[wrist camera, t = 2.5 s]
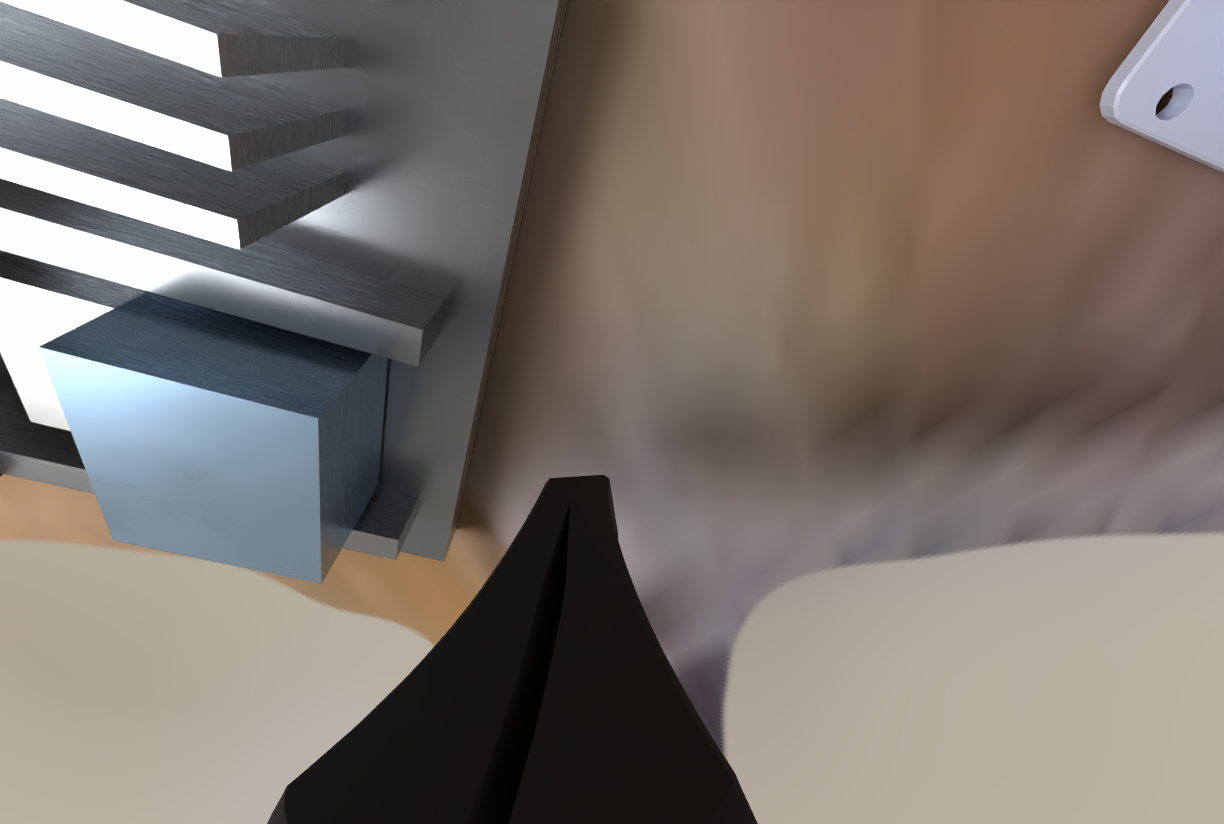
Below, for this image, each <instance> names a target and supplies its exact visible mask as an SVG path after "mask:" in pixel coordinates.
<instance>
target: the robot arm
mask: <svg viewBox="0 0 1224 824" xmlns="http://www.w3.org/2000/svg"><path fill="white" fill-rule="evenodd" d="M1172 87H1173V95H1172V98H1171V100H1170V101H1169V103H1168V105H1167V106H1166V107H1165V108H1164V109H1163V110H1162V111H1160V112H1159V113H1158V114H1156V106H1157V104H1158V102H1159V100H1160V99H1161V97H1162V96H1163V95H1164V94H1165V93H1166V92H1167V91H1168V90H1169V89H1171V88H1172ZM1100 110H1101V114H1102V116H1103V117H1104V118H1105V119H1106V120H1107V121H1108V122H1110V123H1113V124H1115V125H1117V126H1119V127H1122V128H1124V129H1126V130H1128V131H1131V132H1133V133H1135V134H1137V135H1140V136H1142V137H1144V138H1146V139H1149V140H1151V141H1153V142H1155V143H1158V144H1160V145H1162V146H1164V147H1167V148H1169V149H1171V150H1173V151H1176V152H1178V153H1180V154H1182V155H1185V156H1187V157H1189V158H1191V159H1194V160H1196V161H1198V162H1200V163H1203V164H1205V165H1207V166H1209V167H1211V168H1214V169H1216V170H1218V171H1220V172H1223V173H1224V0H1170V1H1169V2H1168V3H1167V5H1166V6H1165V7H1164V8H1163V10H1162V11H1161V12H1160V14H1159V15H1158V16H1157V18H1156V19H1155V20H1154V22H1153V23H1152V24H1151V26H1150V27H1149V28H1148V30H1147V31H1146V32H1145V34H1144V35H1143V36H1142V38H1141V39H1140V40H1139V42H1138V43H1137V44H1136V46H1135V47H1134V48H1133V50H1132V51H1131V52H1130V53H1129V55H1128V56H1127V57H1126V59H1125V60H1124V61H1123V63H1122V64H1121V65H1120V67H1119V68H1118V69H1117V71H1116V72H1115V73H1114V75H1113V76H1112V77H1111V79H1110V80H1109V82H1108V84H1107V85H1106V87H1105V89H1104V91H1103V92H1102V97H1101V101H1100ZM1155 114H1156V115H1155ZM267 824H758V823H757V821H756V819H755V817H754V815H753V812H752V810H751V808H750V806H749V804H748V802H747V799H746V797H745V795H744V793H743V791H742V789H741V786H740V784H739V782H738V779H737V777H736V775H735V773H734V771H733V770H732V768H731V766H730V765H729V763H728V762H727V760H726V759H725V757H724V756H723V754H722V752H721V751H720V749H719V748H718V746H717V745H716V743H715V741H714V740H713V738H712V736H711V735H710V733H709V732H708V730H707V728H706V727H705V725H704V724H703V722H702V720H701V718H700V717H699V715H698V713H697V712H696V710H695V708H694V706H693V705H692V703H691V701H690V700H689V698H688V696H687V695H686V693H685V691H684V689H683V687H682V685H681V683H680V682H679V680H678V678H677V676H676V674H675V672H674V670H673V669H672V667H671V665H670V663H669V661H668V659H667V657H666V656H665V654H664V652H663V650H662V648H661V646H660V644H659V642H658V640H657V637H656V635H655V633H654V631H653V629H652V627H651V625H650V623H649V620H648V618H647V616H646V614H645V612H644V609H643V607H642V605H641V602H640V600H639V598H638V595H637V593H636V590H635V588H634V585H633V583H632V580H631V577H630V575H629V572H628V569H627V567H626V564H625V561H624V558H623V555H622V552H621V548H620V545H619V541H618V531H617V524H616V518H615V512H614V506H613V499H612V493H611V487H610V480H609V478H608V477H606V476H605V475H594V476H579V477H563V478H550V479H549V480H548V481H547V482H546V484H545V486H544V488H543V490H542V492H541V493H540V495H539V497H538V499H537V501H536V503H535V505H534V507H533V508H532V510H531V512H530V514H529V515H528V517H527V519H526V521H525V522H524V524H523V526H522V528H521V529H520V531H519V532H518V534H517V536H516V537H515V539H514V540H513V542H512V544H511V545H510V547H509V548H508V550H507V552H506V553H505V555H504V556H503V558H502V559H501V561H500V562H499V564H498V565H497V567H496V568H495V570H494V571H493V572H492V574H491V575H490V577H489V578H488V580H487V581H486V582H485V584H484V585H483V587H482V588H481V590H480V591H479V592H478V594H477V595H476V596H475V598H474V599H473V600H472V602H471V603H470V604H469V606H468V607H467V608H466V609H465V611H464V612H463V613H462V614H461V616H460V617H459V618H458V619H457V621H456V622H455V623H454V624H453V625H452V627H451V628H450V629H449V630H448V631H447V633H446V634H445V635H444V636H443V637H442V638H441V640H440V641H439V642H438V643H437V644H436V645H435V646H434V647H433V649H432V650H431V651H430V652H429V653H428V654H427V656H425V658H424V659H423V660H422V661H421V662H420V663H419V664H418V665H417V666H416V667H415V668H414V669H413V671H412V672H411V673H410V674H409V675H408V676H407V677H406V678H405V679H404V680H403V681H402V682H401V683H400V684H399V685H398V686H397V687H396V688H395V689H394V690H393V691H392V692H391V693H390V694H389V695H388V696H387V697H386V698H385V699H384V700H383V701H382V702H380V703H379V704H378V705H377V706H376V707H375V709H373V710H372V711H371V712H370V713H369V714H368V715H367V716H366V717H365V718H364V719H363V720H362V721H361V722H360V723H359V724H358V725H357V726H356V727H354V728H353V729H352V730H351V731H350V732H349V733H348V734H347V735H346V736H344V737H343V738H342V739H341V740H340V741H339V742H338V743H336V744H335V745H334V746H333V747H332V748H331V749H330V750H328V751H327V752H326V753H325V754H324V755H323V756H321V757H320V758H319V759H318V760H317V761H316V762H315V763H313V764H312V765H311V766H310V767H309V768H308V769H307V770H305V771H304V772H303V773H302V774H301V775H300V776H299V777H297V778H296V779H295V780H294V781H292V782H291V783H290V784H289V785H288V786H287V787H286V789H285V791H284V793H283V795H282V797H281V799H280V800H279V802H278V804H277V806H276V807H275V809H274V811H273V813H272V815H271V817H270V819H269V821H268V823H267Z"/></svg>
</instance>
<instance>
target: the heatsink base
mask: <svg viewBox="0 0 1224 824" xmlns="http://www.w3.org/2000/svg"><path fill="white" fill-rule="evenodd" d="M567 5H568V0H0V255H3V254H6V253H12V254H16V255H20V256H23V257H27V258H30V259H34V260H38V261H41V262H45V263H48V264H52V265H56V266H59V267H63V268H66V269H70V270H73V271H77V272H81V273H84V274H88V275H91V276H95V277H99V278H102V279H106V280H109V281H113V282H117V283H120V284H124V285H127V286H131V287H134V288H138V289H142V290H145V291H149V292H152V293H156V294H160V295H163V296H167V297H170V298H174V299H178V300H181V301H185V302H188V303H192V304H195V305H199V306H203V307H206V308H210V309H213V310H217V311H221V312H224V313H228V314H231V315H235V316H239V317H242V318H246V319H249V320H253V321H256V322H260V323H264V324H267V325H271V326H274V327H278V328H282V329H285V330H289V331H292V332H296V333H300V334H303V335H307V336H310V337H314V338H317V339H321V340H325V341H328V342H332V343H335V344H339V345H343V346H346V347H350V348H353V349H357V350H361V351H364V352H368V353H371V354H375V355H378V356H382V357H386V358H388V364H387V378H386V391H385V405H384V418H383V432H382V445H381V459H380V472H379V485H378V487H377V488H376V490H375V492H374V493H373V495H372V497H371V499H370V500H369V502H368V504H367V506H366V507H365V509H364V511H363V513H362V514H361V516H360V518H359V520H358V521H357V523H356V525H355V526H354V528H353V530H352V532H351V533H350V535H349V537H348V539H347V540H346V542H345V544H344V546H343V547H342V548H344V549H348V550H353V551H357V552H362V553H366V554H371V555H376V556H380V557H385V558H389V559H394V560H396V559H397V557H398V555H399V552H404V553H408V554H413V555H417V556H422V557H426V558H431V559H435V560H440V561H445V558H446V555H447V552H448V550H449V547H450V544H451V541H452V539H453V536H454V533H455V530H456V526H457V521H458V516H459V512H460V507H461V502H462V498H463V493H464V488H465V484H466V479H467V474H468V469H469V465H470V460H471V455H472V451H473V446H474V441H475V437H476V432H477V427H478V423H479V418H480V413H481V408H482V404H483V399H484V394H485V390H486V385H487V380H488V376H489V371H490V366H491V361H492V357H493V352H494V347H495V343H496V338H497V333H498V329H499V324H500V319H501V314H502V310H503V305H504V300H505V296H506V291H507V286H508V282H509V277H510V272H511V268H512V263H513V258H514V253H515V249H516V244H517V239H518V235H519V230H520V225H521V221H522V216H523V211H524V206H525V202H526V197H527V192H528V188H529V183H530V178H531V174H532V169H533V164H534V159H535V155H536V150H537V145H538V141H539V136H540V131H541V127H542V122H543V117H544V113H545V108H546V103H547V98H548V94H549V89H550V84H551V80H552V75H553V70H554V66H555V61H556V56H557V51H558V47H559V42H560V37H561V33H562V28H563V23H564V19H565V14H566V9H567ZM3 474H6V475H10V476H15V477H20V478H24V479H29V480H33V481H38V482H42V483H47V484H51V485H56V486H61V487H65V488H70V489H74V490H79V491H83V492H88V493H93V494H95V493H94V490H93V488H92V485H91V482H90V480H89V477H88V475H87V472H86V469H85V467H84V464H83V462H82V459H81V456H80V454H79V451H78V449H77V446H76V443H75V441H74V438H73V436H72V433H71V431H68V430H64V429H60V428H56V427H51V426H47V425H43V424H38V423H34V422H31V421H30V419H29V417H28V414H27V412H26V410H25V408H24V405H23V403H22V401H21V398H20V396H19V394H18V392H17V389H16V387H15V385H14V382H13V380H12V378H11V376H10V373H9V371H8V369H7V367H6V364H5V362H4V360H3V357H2V355H1V353H0V476H1V475H3Z"/></svg>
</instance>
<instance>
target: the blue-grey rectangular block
mask: <svg viewBox="0 0 1224 824" xmlns="http://www.w3.org/2000/svg"><path fill="white" fill-rule="evenodd" d="M0 353H1V355H2V357H3V360H4V362H5V364H6V367H7V369H8V371H9V373H10V376H11V378H12V380H13V382H14V385H15V387H16V389H17V392H18V394H19V396H20V398H21V401H22V403H23V405H24V408H25V410H26V412H27V414H28V417H29V419H30V421H31V422H34V423H38V424H43V425H47V426H51V427H56V428H60V429H64V430H68V431H71V433H72V436H73V438H74V441H75V443H76V446H77V449H78V451H79V454H80V456H81V459H82V462H83V464H84V467H85V469H86V472H87V475H88V477H89V480H90V482H91V485H92V488H93V490H94V493H95V495H96V498H97V500H98V503H99V506H100V508H101V511H102V513H103V516H104V519H105V521H106V524H107V526H108V529H109V532H110V534H111V537H112V539H113V541H118V542H122V543H127V544H132V545H137V546H142V547H147V548H151V549H156V550H161V551H166V552H171V553H176V554H180V555H185V556H190V557H195V558H200V559H204V560H209V561H214V562H219V563H224V564H229V565H233V566H238V567H243V568H248V569H253V570H258V571H262V572H267V573H272V574H277V575H282V576H286V577H291V578H296V579H301V580H306V581H311V582H315V583H320V584H322V582H323V580H324V579H325V577H326V575H327V573H328V572H329V570H330V568H331V566H332V565H333V563H334V561H335V559H336V558H337V556H338V554H339V553H340V551H341V549H342V547H343V546H344V544H345V542H346V540H347V539H348V537H349V535H350V533H351V532H352V530H353V528H354V526H355V525H356V523H357V521H358V520H359V518H360V516H361V514H362V513H363V511H364V509H365V507H366V506H367V504H368V502H369V500H370V499H371V497H372V495H373V493H374V492H375V490H376V488H377V487H378V485H379V472H380V459H381V445H382V432H383V418H384V405H385V391H386V378H387V364H388V358H386V357H382V356H378V355H375V354H371V353H368V352H364V351H361V350H357V349H353V348H350V347H346V346H343V345H339V344H335V343H332V342H328V341H325V340H321V339H317V338H314V337H310V336H307V335H303V334H300V333H296V332H292V331H289V330H285V329H282V328H278V327H274V326H271V325H267V324H264V323H260V322H256V321H253V320H249V319H246V318H242V317H239V316H235V315H231V314H228V313H224V312H221V311H217V310H213V309H210V308H206V307H203V306H199V305H195V304H192V303H188V302H185V301H181V300H178V299H174V298H170V297H167V296H163V295H160V294H156V293H152V292H149V291H145V290H142V289H138V288H134V287H131V286H127V285H124V284H120V283H117V282H113V281H109V280H106V279H102V278H99V277H95V276H91V275H88V274H84V273H81V272H77V271H73V270H70V269H66V268H63V267H59V266H56V265H52V264H48V263H45V262H41V261H38V260H34V259H30V258H27V257H23V256H20V255H16V254H12V253H6V254H3V255H0Z"/></svg>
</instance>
